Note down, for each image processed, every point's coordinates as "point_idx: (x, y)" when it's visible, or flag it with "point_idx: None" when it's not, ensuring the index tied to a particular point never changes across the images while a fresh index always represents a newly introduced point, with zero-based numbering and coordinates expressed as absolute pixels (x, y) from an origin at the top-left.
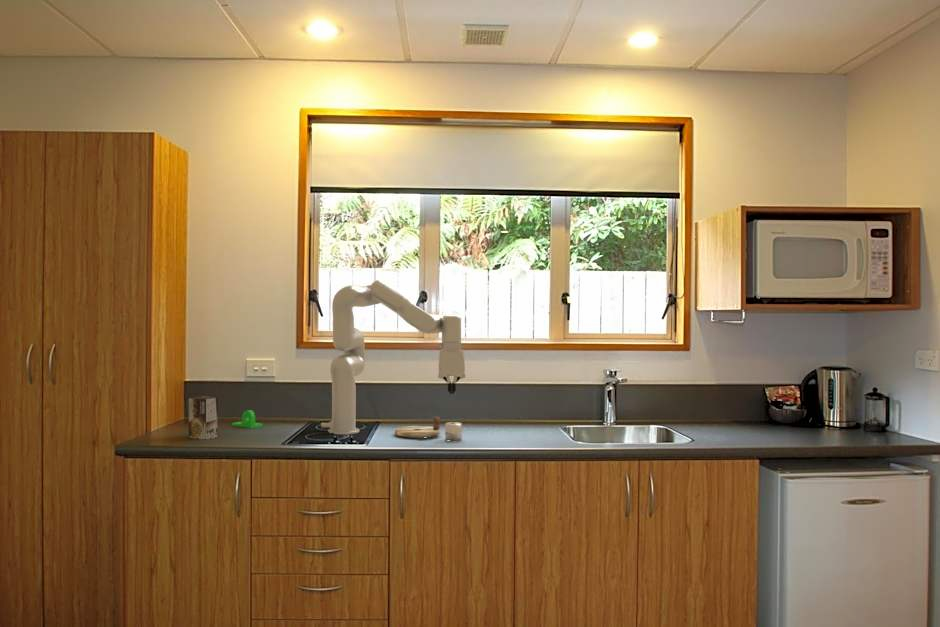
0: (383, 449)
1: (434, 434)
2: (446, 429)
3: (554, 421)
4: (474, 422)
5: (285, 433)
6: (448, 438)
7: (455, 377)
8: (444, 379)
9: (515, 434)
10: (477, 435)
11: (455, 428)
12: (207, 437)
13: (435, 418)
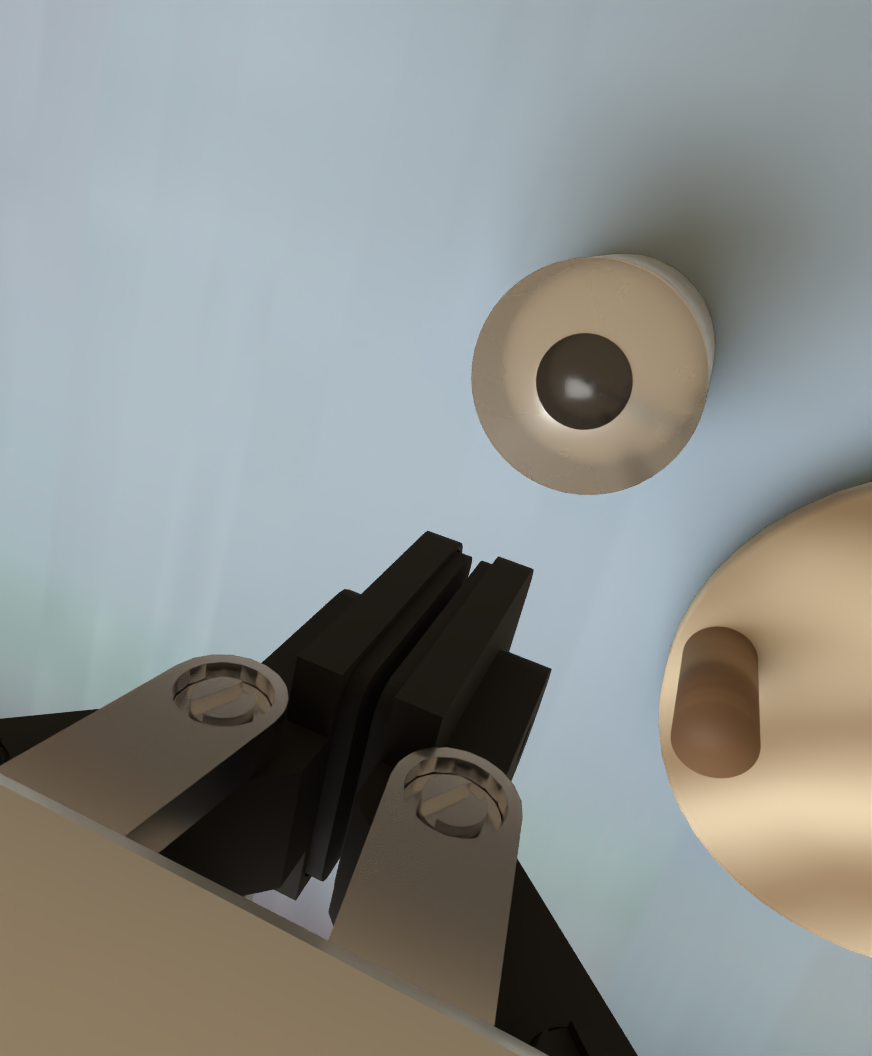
0: None
1: (807, 510)
2: (708, 344)
3: None
4: None
5: None
6: (699, 295)
7: (58, 799)
8: (599, 1023)
9: (34, 465)
10: (320, 527)
11: (603, 256)
12: None
13: (744, 708)
